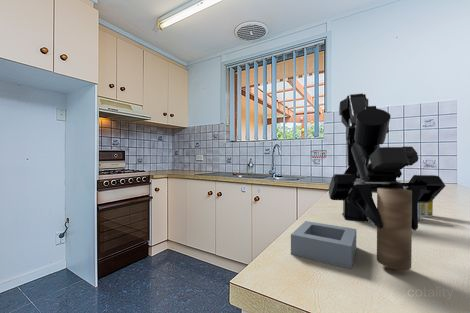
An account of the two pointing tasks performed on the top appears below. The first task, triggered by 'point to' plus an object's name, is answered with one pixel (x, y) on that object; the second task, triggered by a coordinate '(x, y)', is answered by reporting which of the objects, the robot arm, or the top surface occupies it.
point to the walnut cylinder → (394, 228)
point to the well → (325, 243)
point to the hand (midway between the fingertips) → (397, 228)
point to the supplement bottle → (427, 209)
